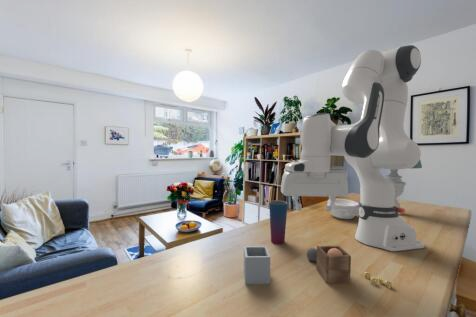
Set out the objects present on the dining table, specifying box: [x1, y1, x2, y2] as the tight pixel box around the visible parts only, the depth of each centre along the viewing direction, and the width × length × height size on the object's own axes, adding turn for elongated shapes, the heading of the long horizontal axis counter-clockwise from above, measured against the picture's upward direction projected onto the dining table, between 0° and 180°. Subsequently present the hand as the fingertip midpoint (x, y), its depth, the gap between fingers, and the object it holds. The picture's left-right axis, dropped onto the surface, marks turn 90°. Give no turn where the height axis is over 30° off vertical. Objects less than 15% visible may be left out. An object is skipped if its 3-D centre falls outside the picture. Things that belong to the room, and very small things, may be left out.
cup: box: [268, 199, 288, 245], centre depth 85 cm, size 7×7×15 cm
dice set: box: [363, 271, 393, 289], centre depth 59 cm, size 5×5×2 cm
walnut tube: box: [316, 245, 352, 284], centre depth 61 cm, size 6×6×7 cm
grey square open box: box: [243, 245, 271, 285], centre depth 60 cm, size 6×6×7 cm
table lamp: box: [385, 159, 423, 216], centre depth 125 cm, size 24×24×40 cm
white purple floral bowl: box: [327, 198, 359, 220], centre depth 117 cm, size 15×15×8 cm
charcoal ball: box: [306, 247, 317, 263], centre depth 70 cm, size 4×4×4 cm
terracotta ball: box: [327, 248, 343, 255], centre depth 60 cm, size 4×4×4 cm
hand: (313, 210), depth 69 cm, fingers open, 8 cm apart
